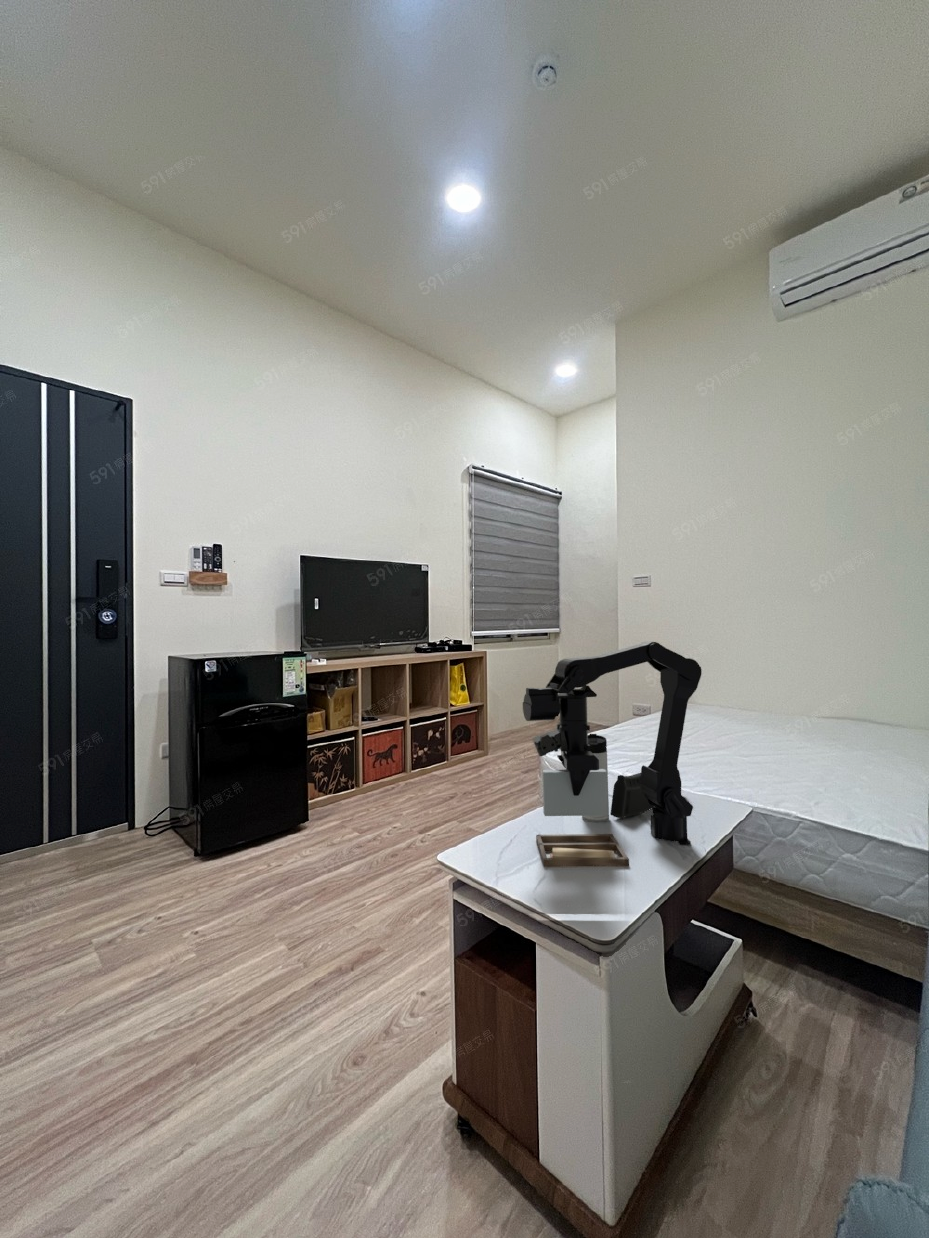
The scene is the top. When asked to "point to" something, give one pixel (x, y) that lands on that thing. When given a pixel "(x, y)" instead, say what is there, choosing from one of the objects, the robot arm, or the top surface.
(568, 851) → the offcut top
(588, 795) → the gray rectangular panel
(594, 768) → the robot arm
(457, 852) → the top surface
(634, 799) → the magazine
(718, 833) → the top surface
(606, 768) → the travel mug
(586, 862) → the brown wooden tray
